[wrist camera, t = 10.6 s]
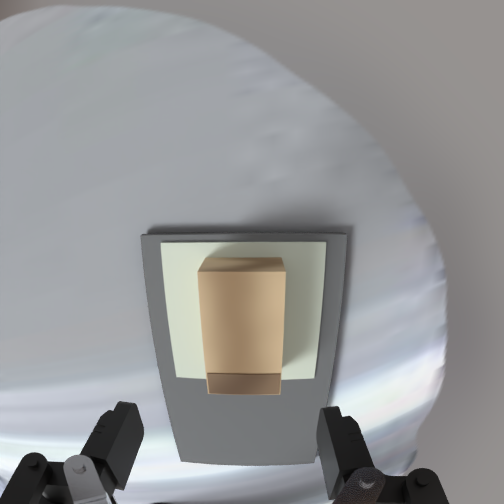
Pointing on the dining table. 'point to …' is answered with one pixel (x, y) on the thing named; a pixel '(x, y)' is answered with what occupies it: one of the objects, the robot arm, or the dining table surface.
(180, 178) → the dining table surface
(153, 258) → the mat
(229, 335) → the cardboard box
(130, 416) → the robot arm
